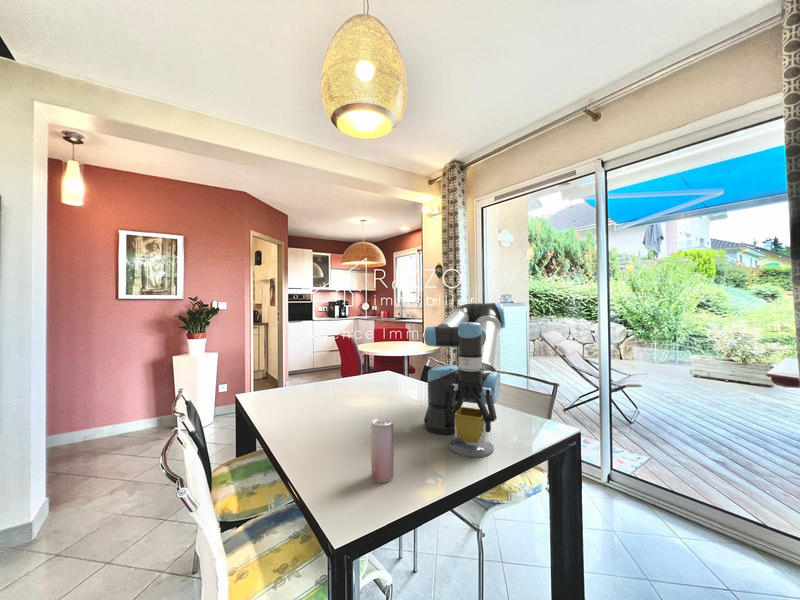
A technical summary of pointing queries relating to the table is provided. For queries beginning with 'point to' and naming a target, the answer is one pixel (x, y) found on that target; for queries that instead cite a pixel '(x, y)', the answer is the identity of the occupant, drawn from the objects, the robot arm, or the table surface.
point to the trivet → (471, 448)
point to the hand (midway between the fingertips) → (471, 438)
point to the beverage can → (382, 450)
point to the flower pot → (469, 424)
